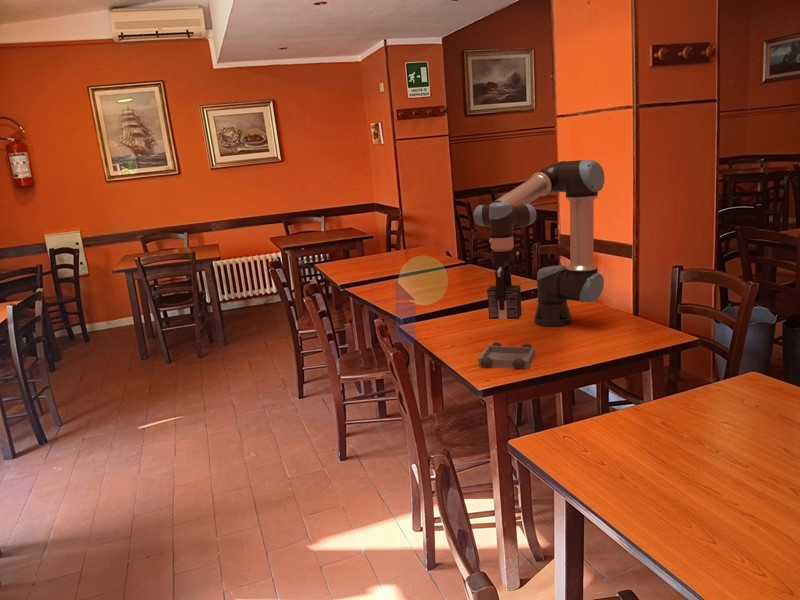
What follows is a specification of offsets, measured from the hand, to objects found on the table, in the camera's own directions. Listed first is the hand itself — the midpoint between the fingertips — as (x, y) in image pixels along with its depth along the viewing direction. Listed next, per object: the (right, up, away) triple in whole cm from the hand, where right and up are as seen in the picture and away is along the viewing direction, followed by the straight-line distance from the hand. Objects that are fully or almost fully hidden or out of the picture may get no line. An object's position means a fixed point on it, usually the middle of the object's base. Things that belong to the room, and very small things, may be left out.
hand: (505, 315), depth 205 cm
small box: (0, -1, 0) cm, 1 cm away
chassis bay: (+1, -16, +4) cm, 16 cm away
